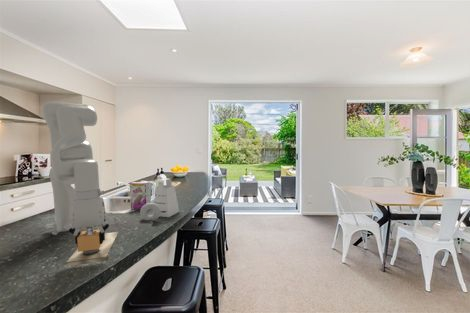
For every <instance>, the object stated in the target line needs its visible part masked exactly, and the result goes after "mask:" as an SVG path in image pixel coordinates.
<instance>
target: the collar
mask: <svg viewBox="0 0 470 313" xmlns="http://www.w3.org/2000/svg"><path fill="white" fill-rule="evenodd" d="M93 231H94V234H93V235H87V233H86V230H84V231H83V230H81V232H80V233H81V234H80V235H79V236H78V237H77V242H78V247H77V248H78V252H81V251H88V250H95V249H99V248H100V246H101V244H100V239H99V233H100V230H97V229H93Z"/></svg>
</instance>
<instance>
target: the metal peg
mask: <svg viewBox="0 0 470 313" xmlns="http://www.w3.org/2000/svg"><path fill="white" fill-rule="evenodd" d="M93 230H94V227H86V229H85V231H86V233H87V235H93V234H94V231H93ZM98 252H99V249H95V250H88V251H83V255H84V256H89V255H94V254H96V253H98Z"/></svg>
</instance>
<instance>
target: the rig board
mask: <svg viewBox="0 0 470 313" xmlns="http://www.w3.org/2000/svg"><path fill="white" fill-rule="evenodd" d="M118 234H119V231H112V232H105V240H104V241H103V243H102V244H101V246H100V248H99V252H98V253H96V254H94V255H89V256H84V255H83V251H81V252H78V247H77V249H75V251H74V252H73V253H72V255H71V256H70V257H69V259H68V260H67V261H66V267H73V266H78V265H79V266H80V265H85V264H92V263H99V262H107V260H108V258H109V256H108V254H109V252H110V250H111V249H112V248H111V247H112V246H113V244H114V242H115V239H116V238H117V236H118Z"/></svg>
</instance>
